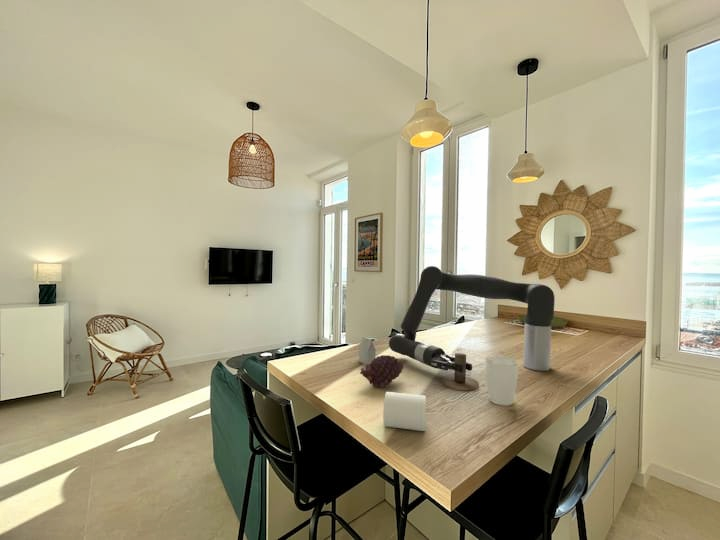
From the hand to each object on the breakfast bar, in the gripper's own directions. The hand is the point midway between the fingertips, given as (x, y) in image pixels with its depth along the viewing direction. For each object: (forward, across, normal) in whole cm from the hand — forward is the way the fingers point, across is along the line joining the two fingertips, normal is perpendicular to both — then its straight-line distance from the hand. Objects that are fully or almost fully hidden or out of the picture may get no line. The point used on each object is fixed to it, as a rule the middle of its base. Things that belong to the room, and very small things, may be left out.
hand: (467, 368), depth 103 cm
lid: (-3, 0, +6) cm, 7 cm away
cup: (+12, 0, +6) cm, 14 cm away
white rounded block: (+7, -33, +6) cm, 34 cm away
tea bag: (-37, -15, +6) cm, 40 cm away
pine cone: (-15, -23, +6) cm, 28 cm away
